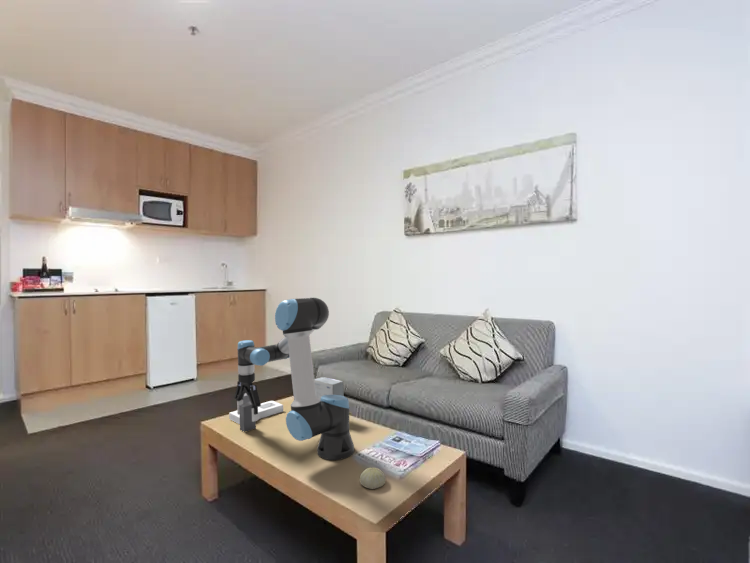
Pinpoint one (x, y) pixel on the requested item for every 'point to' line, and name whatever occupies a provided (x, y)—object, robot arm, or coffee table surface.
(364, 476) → the sea urchin shell
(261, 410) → the socket strip
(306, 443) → the coffee table surface
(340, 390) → the hard drive box
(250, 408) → the grey rectangular block
